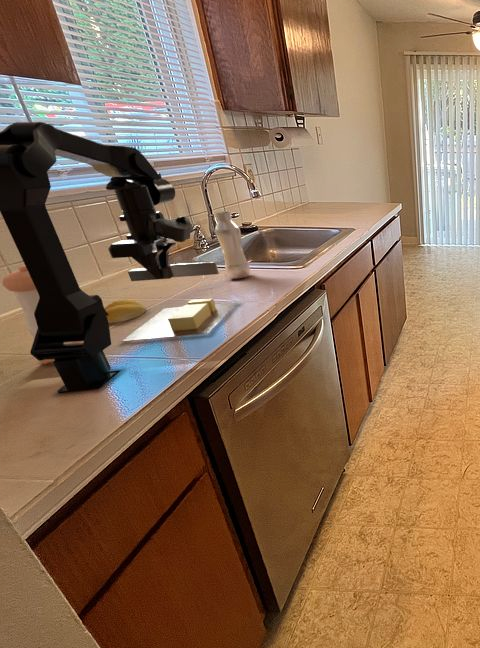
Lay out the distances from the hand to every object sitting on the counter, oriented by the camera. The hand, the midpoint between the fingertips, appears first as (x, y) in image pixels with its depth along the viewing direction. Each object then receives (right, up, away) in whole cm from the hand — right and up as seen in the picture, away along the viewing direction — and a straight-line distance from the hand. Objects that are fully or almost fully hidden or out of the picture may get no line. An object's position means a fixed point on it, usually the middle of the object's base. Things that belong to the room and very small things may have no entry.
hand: (162, 277), depth 93 cm
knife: (+3, 0, +1) cm, 3 cm away
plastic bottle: (-1, +2, +31) cm, 31 cm away
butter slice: (+6, -8, +5) cm, 11 cm away
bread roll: (-13, -10, +5) cm, 17 cm away
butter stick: (+7, -11, 0) cm, 13 cm away
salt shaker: (-9, -17, -12) cm, 23 cm away
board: (+4, -11, +2) cm, 12 cm away
